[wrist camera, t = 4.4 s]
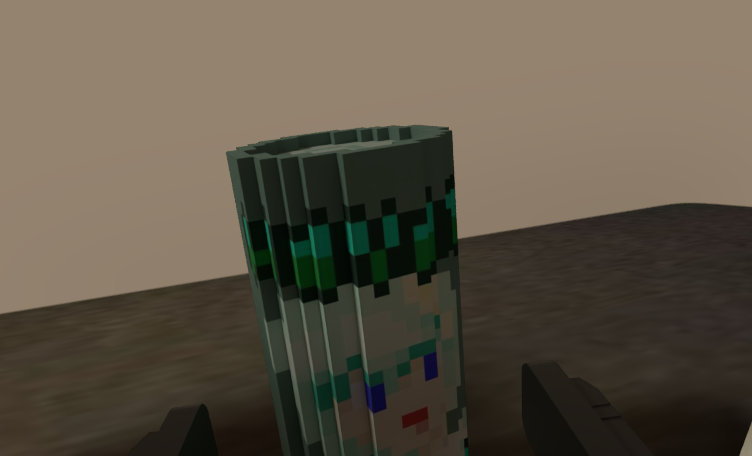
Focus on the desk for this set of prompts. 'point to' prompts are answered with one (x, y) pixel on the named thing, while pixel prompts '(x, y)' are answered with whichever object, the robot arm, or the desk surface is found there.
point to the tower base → (747, 444)
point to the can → (357, 288)
